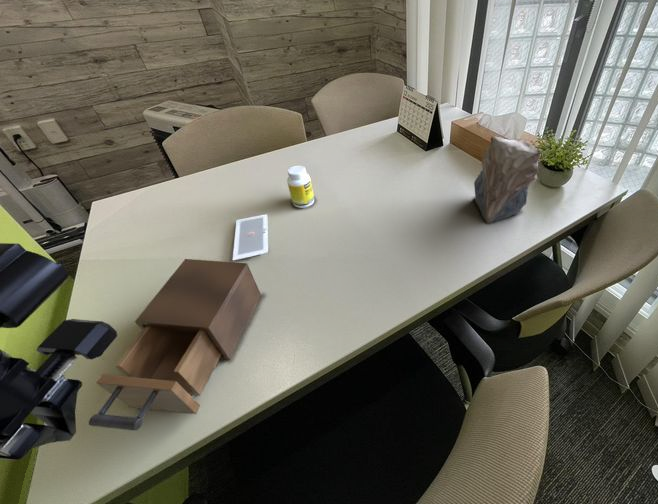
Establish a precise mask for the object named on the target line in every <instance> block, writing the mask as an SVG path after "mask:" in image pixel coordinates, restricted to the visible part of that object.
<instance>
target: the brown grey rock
mask: <svg viewBox="0 0 658 504" xmlns="http://www.w3.org/2000/svg"><path fill="white" fill-rule="evenodd" d="M542 152H543V150H542V149H539V148H536V147H534V146H533V145H531V144H530V143H529V142H528V141H526V140H523V139H519V140H516V139H511V138H510V139H506V138H503V137H501V136H495V135H494V136H493V135H492V136H491V137H490V144H489V146H488V147H487V148H486V149H485V150H484V152H483V154H482V160H481V168H482V170H480V172H479V174H478V175H477V177H476V178H475V180H474V182H473V185H474V202H475V204H476V205H477V208H478V209H479V211H480V213H481V216H482V218H483V219H484V221H485V222H486V224H491V223H495V222H497V221H501V220H502V219H507V218H510V217H511V216H517V215H519V214H520V212H521V210H522V208H524V206H525V205H526V204H527V202H528V194H529V188H530V186H531V184H532V183H533V181H535V180H536V175H537V174H538V171H539V159H540V157H541V154H542Z"/></svg>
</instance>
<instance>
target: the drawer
mask: <svg viewBox="0 0 658 504" xmlns="http://www.w3.org/2000/svg"><path fill="white" fill-rule="evenodd" d="M221 355H222V353H221V351H220V350H219V348H218V347H217V346H216V344H215V343H214V341H213V340H212V338H211V337H210V335H209V334H208V333H207V331H206V330H199V329H187V328H175V327H164V326H152V325H146V326H145V328H144V329H143V330H142V329H141V331H140V333H139V334H138V336H137V337H136V338H135V339H134V341H133V342H132V343H131V345H130V346H129V347H128V348H127V349H126V351H125V353H123V355H122V356H121V358H120V359H119V360H118V362H117V363H116V364H115V365H114V366H115V368H116V369H118V370H119V371H120V372H121V373H123V374H124V375H114V374H104V373H103V374H101V375H100V377H99V378H98V379H97V380H96V382H95V383H96V384H97V385H99V386H100V387H101V388H102V389H104V390H105V391H106V392H108V393H109V394H110V395H109V397H108V399H107V400H106V401H105V403H104V404H103V405H102V407H101V408H100V410H99V411H98V413H94V414H92V416H91V417H90V418H89V420H88V426H89V427H98V428H106V429H114V430H122V431H123V430H124V431H133V432H136V431H139V429H141V427H142V425H143V423H144V419H143V418H144V417H145V415H146V414H147V412H148V411H149V410H156V411H164V412H175V413H184V414H194V415H196V414H197V413H198V411H199V409H200V407H201V405H200V404H199V403H198V402H197V401H196V399H194V398H193V396H201V395H202V393H203V391H204V389H205V387H206V385H207V384H208V381H209V379H210V378H211V376H212V374H213V372H214V370H215V368H216V367H217V364H218V362H219V361H220V360H221V359H220V357H221ZM116 399H117V400H118V401H119V402H121V403H123V404H124V405H125V406H126V407H128V408H136V409H140V410H139V412H138V414H137V415H136V416H135V417H133V416H125V415H116V414H106V413H107V412H108V410H109V409H110V408H111V407H112V405H113V404H114V403H115V401H116Z"/></svg>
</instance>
